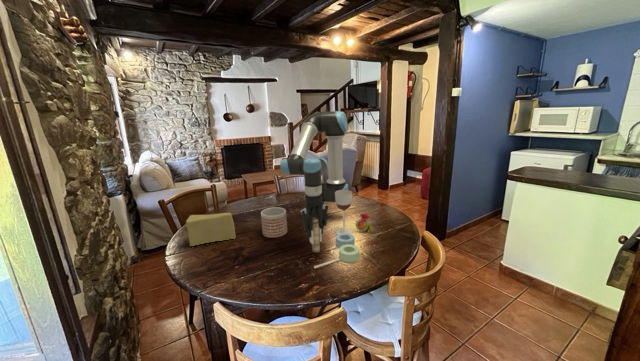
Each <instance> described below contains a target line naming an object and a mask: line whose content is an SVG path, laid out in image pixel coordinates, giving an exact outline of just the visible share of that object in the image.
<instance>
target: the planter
mask: <svg viewBox="0 0 640 361" xmlns="http://www.w3.org/2000/svg"><path fill="white" fill-rule="evenodd" d="M260 217H261V218H260V219H261V220H260V221H261V228H262V229H261V231H262V235H263V236H264V237H266V238H270V239H271V238H273V239H274V238H281V237H283V236H284V235H286V234H287V233H288V220H287V210H286V209H285V208H283V207H279V206H278V207H276V206H275V207H268V208H264V209H262V211H261V212H260Z"/></svg>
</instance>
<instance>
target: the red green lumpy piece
mask: <svg viewBox="0 0 640 361" xmlns="http://www.w3.org/2000/svg"><path fill="white" fill-rule="evenodd" d="M368 219H370V215H369V214H368V213H360V218H358V219H357V220H356V222H355V228H356V229H357V231H358V233H361V232H365V231H367V232H368V233H370V232H373V229H372V225H373V224H372V223H369V221H368Z"/></svg>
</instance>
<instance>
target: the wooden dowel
mask: <svg viewBox="0 0 640 361" xmlns="http://www.w3.org/2000/svg"><path fill="white" fill-rule="evenodd" d="M312 230H313V238H314V244H311V251H312V252H313V253H320V251H321V247H320V245H321V244H320V241H319V219H318V218H316V217H314V218H313V222H312Z"/></svg>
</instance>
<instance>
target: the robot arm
mask: <svg viewBox="0 0 640 361" xmlns="http://www.w3.org/2000/svg"><path fill="white" fill-rule="evenodd" d="M347 119H348V118H347V115H346V113H345V112H344V111H339V110H335V111H317V112H314V113H312V114H311V115H309V116H307V118H306V119H305V120H303V122H302V123H301V124H302V125H301V126H300V133H299V135H298V137H297V139H296V142H295V143H294V146H293V148H292V150H291V153H290V155H288V156H289V157H288V158H284V159H281V160H280V161H281V162H280V172H281V174H283V175H289V176H291V175H292V176H298V175H299V176H303V179H304V180H303V182H304V195H305V196H304V197H305V198H304V200H305V206H304V208H302V209H300V210H299V213H300V214H301V222H302V228H303V229H304V231H305V232H307V237H308V238H309V242H310V244H311V245H312V244H314V238H313V230H312V222H313V218H314V217H316V218H318V219H319V242H321V243H322V241H323V240H322V239H323V236H322V235H323V234H324V229H325V227H327V224H328V223H327V222H328V220H327V218H328V208H329V205H327V204H325V203H336V201H335V192H336V191H338V190H349V184H348V183H346V180H345V178H344V167H343V160H344V158H343V157H344V156H343V155H344V154H343V138H344V137H345V136H346V133H347V132H348V130H349V127H348V120H347ZM318 133H324V137H325V138H326V139H327V160H326V159H325V158H323V157H318V158H316V157H315V158H307V159H306V157H307V155H308V152H309V150H310V146H311V145H312V142H313V139H314V138H315V136H317V134H318ZM327 171H328V178H327V179H326V182H324V180H323V179H322V176H323V175H324V174H326V172H327Z"/></svg>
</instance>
